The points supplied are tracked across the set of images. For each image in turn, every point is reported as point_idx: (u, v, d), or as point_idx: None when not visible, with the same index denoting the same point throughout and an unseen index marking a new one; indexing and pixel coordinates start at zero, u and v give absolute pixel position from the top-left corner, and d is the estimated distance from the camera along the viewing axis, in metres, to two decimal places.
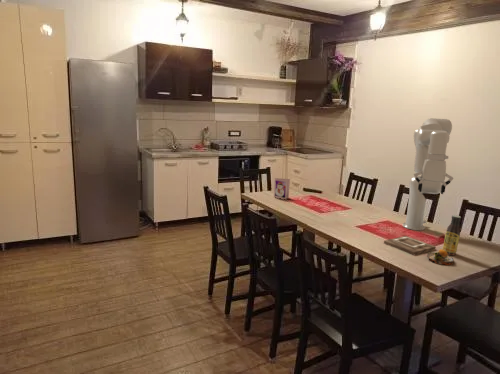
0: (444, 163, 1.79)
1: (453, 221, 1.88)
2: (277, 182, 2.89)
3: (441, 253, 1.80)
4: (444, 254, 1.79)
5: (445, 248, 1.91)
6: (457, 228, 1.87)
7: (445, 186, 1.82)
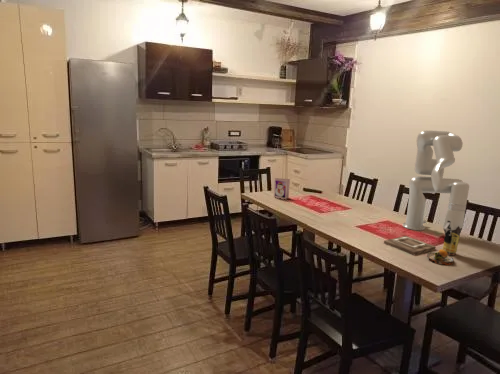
0: (464, 211, 1.88)
1: None
2: (277, 182, 2.89)
3: (441, 253, 1.80)
4: (444, 254, 1.79)
5: (445, 248, 1.91)
6: (457, 228, 1.87)
7: None
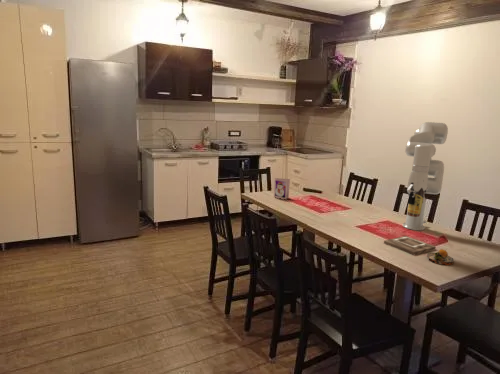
0: (427, 173, 1.92)
1: None
2: (277, 182, 2.89)
3: (441, 253, 1.80)
4: (444, 254, 1.79)
5: (409, 210, 1.95)
6: (420, 190, 1.91)
7: (423, 195, 1.96)
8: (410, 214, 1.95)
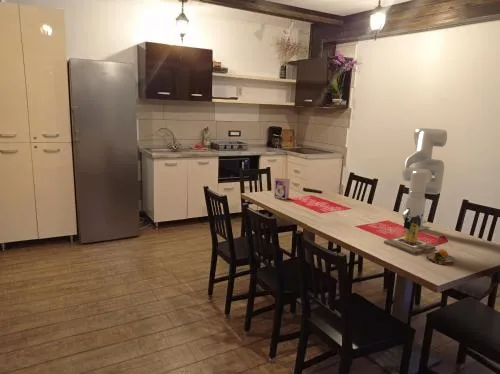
0: (423, 199, 1.95)
1: None
2: (277, 182, 2.89)
3: (441, 253, 1.80)
4: (444, 254, 1.79)
5: (405, 238, 1.98)
6: (416, 218, 1.95)
7: (420, 219, 1.99)
8: (406, 242, 1.98)
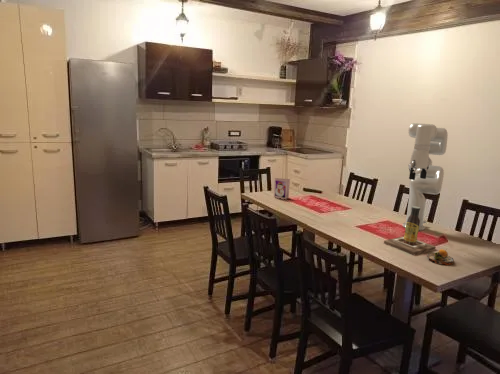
0: (428, 152, 2.06)
1: (412, 212, 1.95)
2: (277, 182, 2.89)
3: (441, 253, 1.80)
4: (444, 254, 1.79)
5: (405, 238, 1.98)
6: (416, 218, 1.95)
7: None
8: (406, 242, 1.98)
